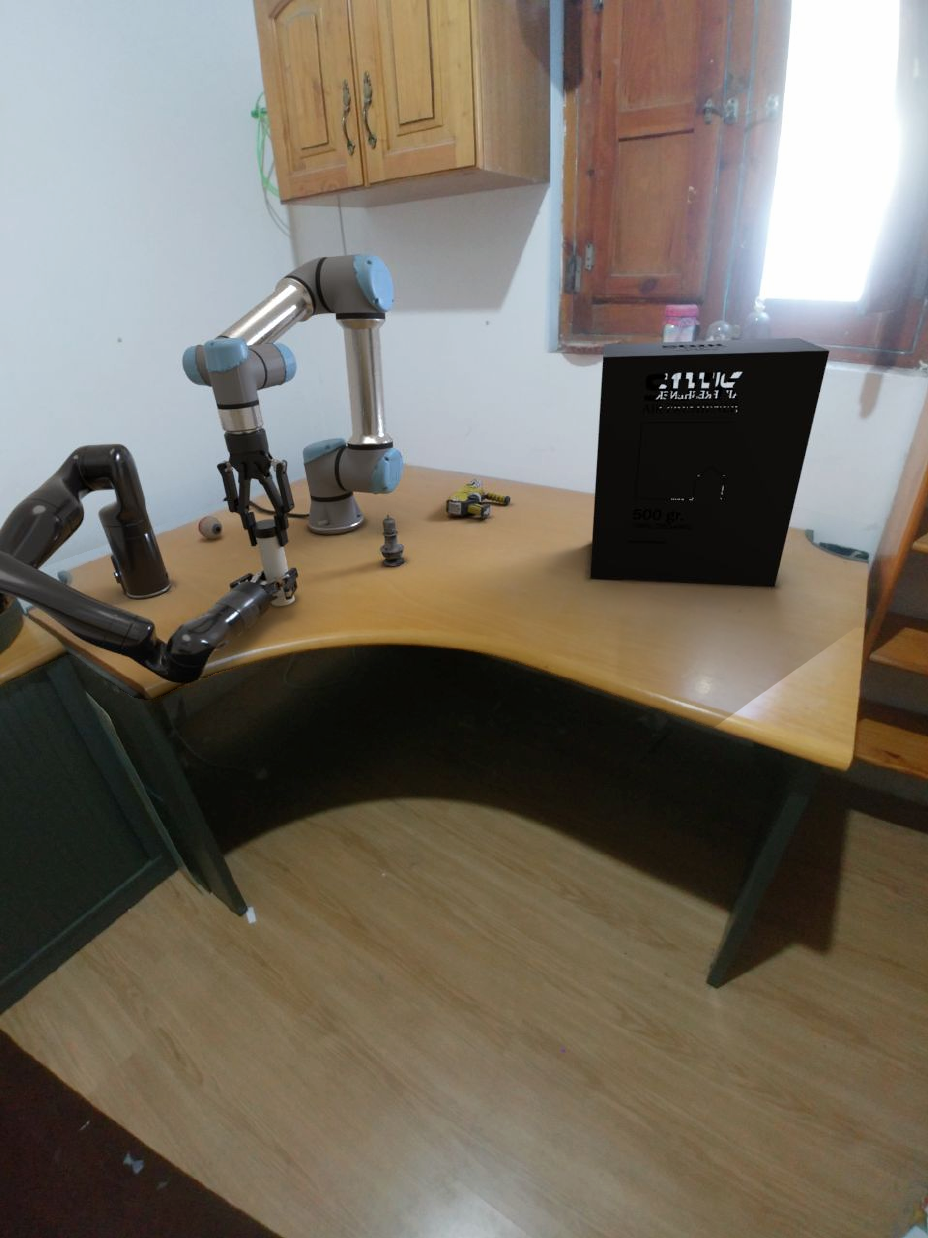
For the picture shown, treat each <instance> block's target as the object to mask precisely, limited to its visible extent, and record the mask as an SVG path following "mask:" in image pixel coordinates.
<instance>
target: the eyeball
mask: <svg viewBox="0 0 928 1238" xmlns="http://www.w3.org/2000/svg"><path fill="white" fill-rule="evenodd" d="M197 526H198V527H197V528H198V532H199V533H200V535H201V536H202V537H204V538H206V539H209V540H211V539H212V540H213V539H216V538H218V537H219V536H220V535H221V534H222V533H223V524H222V523H221V521H220V520H219V519H218V518H217V517H215V516H204V517H203V518H201V519H200V521H199V522H198V525H197Z"/></svg>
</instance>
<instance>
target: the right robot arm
mask: <svg viewBox="0 0 928 1238" xmlns="http://www.w3.org/2000/svg"><path fill="white" fill-rule="evenodd" d="M394 301H395V289H394V283H393V279H392V275H391V273H390V270H389V269H388V268H387V265H386V264H385V262H384V261H383V259H381V258H380V257H379V256H377V255H376V254H367V253H366V254H364V253H356V254H347V255H336V256H335V255H334V256H321V257H320V256H319V257H317V258H314V259H311V260H309V261H307V262H304V263H303V264H301V265H300V266H297V267H296V268H295V269H293V270H292V271H291V272H289V273H287V274H286V275H285V276H284V277H283V278H280V280H279V281H277V283H276V285H275V288H274V291H273V292H272V293H271V294H270V295H268V296H267V297H265V298H264V299H263V300H262V301H260V302H259V303H258V304H256V306H254V307H253V308H251V309H250V310H249V311H248V312H246V313H245V314H244V315H242V317H240V318H239V319H237V321H235V322H234V323H232V324H231V325H230V326H229V327H227V328H226V329H225V330H224V331H222V332H221V333H220V334H219V335H217V336H216V337H215V338H213V339H210V340H206V341H205V342H204V343H203V344H196V345H191V346H189V347H187V348H186V349H185V350H184V352H183V354H182V360H181V365H182V369H183V371H184V374H185V375H186V377H187V379H188V380H189V381H190V382H192V383H193V384H195V385H197V386H205V387H209V388H211V389H212V393H213V396H214V400H215V403H216V407H217V408H216V409H217V413H218V417H219V418H218V419H219V421H220V426H221V430H222V431H224V434H223V437H224V442H225V446H226V450H227V452H228V453H229V457H228V459H227V460H222V461H221V462H220V463H217V465H216V468H217V471H218V473H219V474H220V476H221V478H222V485H223V489H224V493H225V497H224V498H223V500H222V501H223V502H227V506H228V511H229V512H230V513H232V514H234V513H235V514H238V515H239V516H240V520H241V524H242V528H243V529H244V531H247V534H248V538H249V542H250V546H251V547H253V548H254V547H256V546H258V544H257V540H256V537H255V536H253V532H252V524H254V523H255V522H257V520H256V516H255V512H254V511H251V509H252V508H250V505H251V506H253V507H255V509H258V511H261V512H263V513H267V514H273V519H274V521H275V526H276V530H277V535H278V539H279V544H280V547H285V546H286V545H287V544H289V542H290V541H289V536H288V531H287V530H288V529H289V528H290V522H289V519H288V517H294V518H308V521H307V524H308V528H309V529H308V530H310V531H311V532H312V533H314V534H317V535H323V536H324V535H325V536H327V535H329V536H331V535H339V534H340V535H341V534H345V533H350V532H353V531H355V530H357V529H359V528H361V527H362V526H363V525H364V523H365V519H364V514H363V512H362V510H361V508H360V505H359V504H358V501H357V500H356V498H355V495H354V493H363V494H372V495H388V494H391V493H392V492H394V491H395V490H396V489H397V487H398V486H399V484H400V482H401V479H402V476H403V472H404V458H403V455H402V452H401V451H400V449H398V448H396V447H394V440H393V437H391V436H390V435H389V434H388V433H387V421H386V406H385V405H386V404H385V390H384V389H385V388H384V376H383V375H384V371H383V358H382V356H383V355H382V343H381V327H383V325H384V324H385V323H386V313H388V312H389V311H391V310H392V308H393V306H394ZM326 314H335V322H336V324H338V325H339V326H340V327H341V329H342V330H343V342H344V343H343V344H344V352H345V353H344V354H345V364H346V365H345V366H346V376H347V387H348V399H349V410H350V422H351V435H350V436H349V438H348V439H347V440H346V439H345V438H342V437H335V438H328V439H323V440H320V441H316V442H313V443H309V444H308V445H306V446H305V447H304V448H303V450H302V457H303V459H302V460H303V467H304V472H305V477H306V481H307V486H308V492H309V498H310V507H309V513H304V514H303V513H292V512H291V511H293V510H294V509H295V506H296V505H295V500H294V498H293V493H292V489H291V484H290V481H289V476H288V473H287V470H288V461H287V460H286V459H282V460H279V459H277V458H276V459H275V458H274V457H273V455H272V454H271V452H270V449H269V447H270V446H269V442H268V436H267V431H266V429H265V428H264V427H263V426H264V424H265V422H264V418H263V413H262V409H261V404H260V399H259V393H258V391H260V390H265V389H269V388H272V387H276V386H282V385H284V384H286V383H288V382H290V381H292V380H293V378H294V377H295V375H296V373H297V367H298V366H297V361H296V356H295V355H294V353H293V352H292V349H291V348H290V347H288V346H287V345H286V344H284V343H282V342H276V341H278V340H279V339H280V338H281V337H282V336H283V335H285V334H286V333H287V332H288V331H289V330H290V329H291V328H293V327H294V326H295V325H296V324H297V323H303V322H307V321H308V320H309V319H311V318H312V317H313V316H317V315H326ZM271 467H272V468H273V472H275V478H276V482H277V486H278V488H277V486H276V484H275V482H274V479H273V478H274V477H273V474H272V473H271V471H270V469H271ZM234 470H235V471H236V472H237V483H238V488H237V483H236V479H235V474H234ZM252 480H257V481H258V483H259V485H261V486H262V488H263V489H264V492H265V493H266V495H267V497H268V499H269V502H270V504H271V505H272V508H273V509H274V510H271V509H266V508H264V507H261V506H260V505H258V504H257V503H255V502H253V501H252V500H251V482H252Z"/></svg>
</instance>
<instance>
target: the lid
mask: <svg viewBox="0 0 928 1238" xmlns="http://www.w3.org/2000/svg"><path fill="white" fill-rule="evenodd" d="M252 532H253V536H255V537H257V538H269V537H273V536H276V535H277V530H276V526H275V521H274V518H268V519H262V520H258V521H256V522H255V523H254V524H252Z"/></svg>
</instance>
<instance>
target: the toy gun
mask: <svg viewBox="0 0 928 1238" xmlns="http://www.w3.org/2000/svg"><path fill="white" fill-rule="evenodd" d="M482 486H483V480H481V479H478V480H477V479H476V478H474V479H472V480H471V481H470V482H469V483H466V484H465V485H463V486H462V487H461V488H460V489H458V490H457V491H456V492H455V493H454V494H452V495H451V496H450V497H449V498H448V499H446V501H445V512H446V513H447V514H450V516H454V517H456V516H467V515H477V516H479V517H480V519H481V520H484V519H486V518H487V517H489V516H490V513H491V504H490V503H485V504H484V502H483V501H485V500H488V501H491V502H496V503H499V504H501V503H502V504H504V505H509V504H510V503H511V497H510V495H503V494H500V493H495V492H492V491H487V493H486V494H485V491H484V490H483V488H481V487H482Z"/></svg>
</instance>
